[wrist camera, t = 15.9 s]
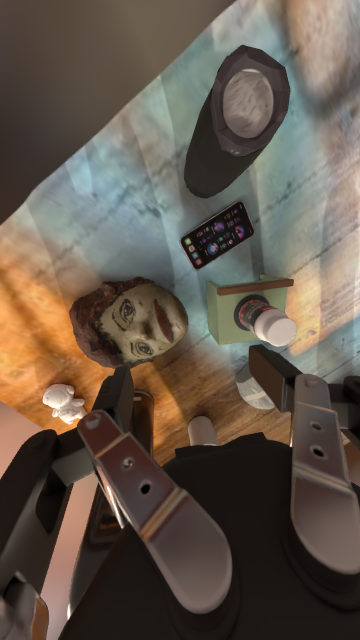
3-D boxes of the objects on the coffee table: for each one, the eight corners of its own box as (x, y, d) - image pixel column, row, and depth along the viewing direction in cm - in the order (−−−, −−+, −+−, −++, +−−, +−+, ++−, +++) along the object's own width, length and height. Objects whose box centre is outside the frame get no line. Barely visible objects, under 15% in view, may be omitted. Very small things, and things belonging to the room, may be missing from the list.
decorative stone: (279, 382, 56) (293, 397, 50) (252, 404, 57) (263, 421, 52) (253, 356, 52) (265, 368, 46) (224, 380, 53) (233, 395, 48)
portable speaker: (232, 156, 36) (312, 59, 18) (215, 210, 39) (270, 172, 21) (189, 137, 35) (229, 7, 16) (175, 194, 37) (195, 138, 19)
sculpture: (203, 363, 39) (86, 403, 39) (195, 342, 48) (100, 375, 48) (170, 261, 32) (28, 310, 32) (167, 259, 41) (56, 297, 41)
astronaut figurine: (62, 424, 51) (56, 434, 49) (37, 389, 47) (30, 397, 44) (93, 413, 52) (90, 423, 49) (72, 378, 47) (67, 386, 45)
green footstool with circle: (263, 322, 49) (288, 339, 39) (208, 330, 48) (221, 349, 38) (264, 273, 45) (294, 279, 35) (205, 281, 44) (219, 289, 34)
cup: (204, 411, 56) (212, 439, 47) (219, 431, 59) (230, 461, 51) (182, 423, 56) (187, 453, 48) (199, 443, 60) (206, 474, 51)
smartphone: (177, 239, 39) (242, 198, 38) (177, 239, 40) (241, 198, 39) (195, 272, 42) (256, 234, 41) (194, 271, 42) (255, 234, 41)
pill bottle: (256, 293, 37) (290, 306, 28) (270, 314, 39) (307, 333, 30) (232, 311, 38) (258, 331, 28) (247, 332, 40) (275, 356, 30)
